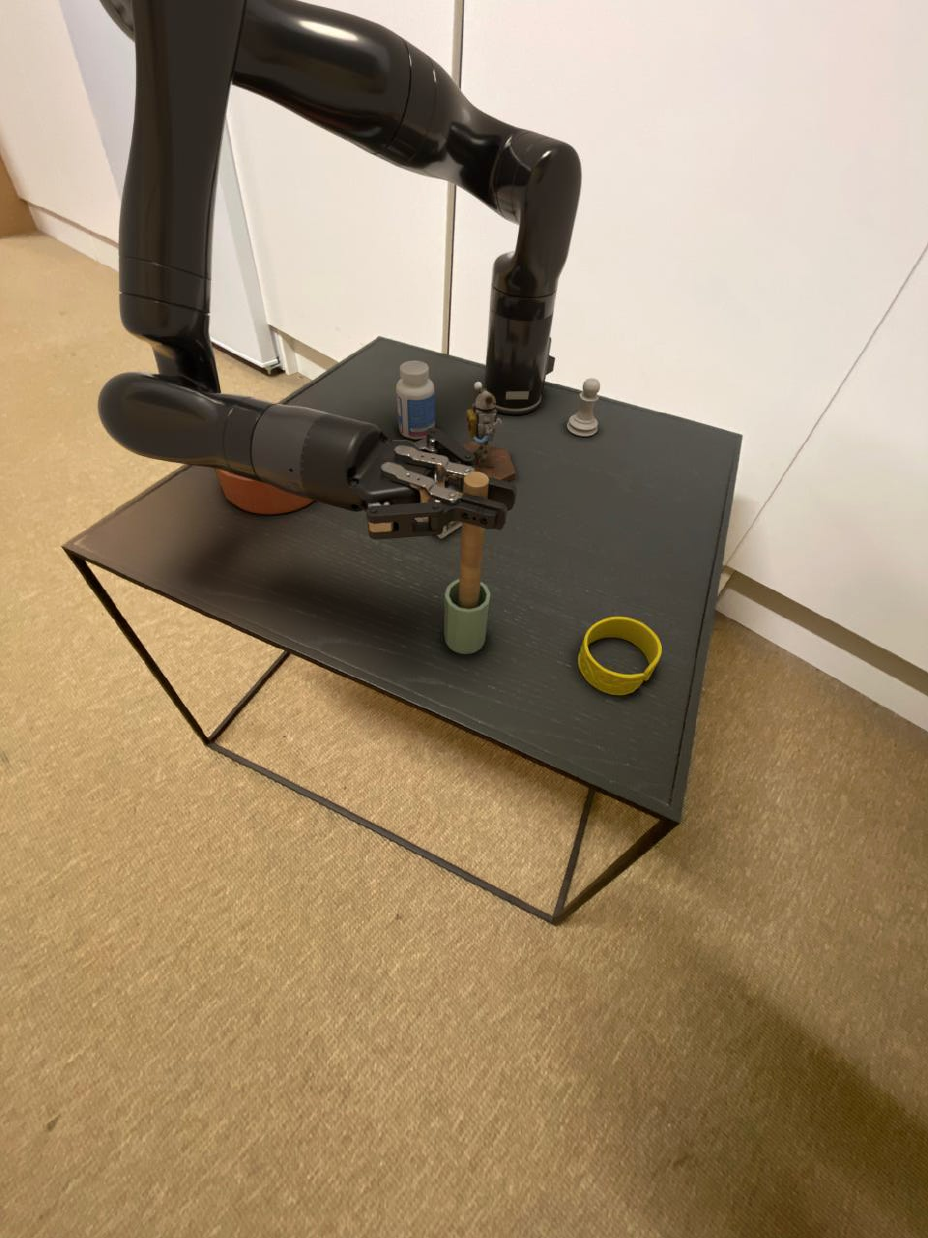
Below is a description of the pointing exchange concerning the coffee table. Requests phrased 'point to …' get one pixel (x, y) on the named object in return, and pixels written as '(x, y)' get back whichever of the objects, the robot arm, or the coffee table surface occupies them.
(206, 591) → the coffee table surface
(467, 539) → the stick
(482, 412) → the robot figurine
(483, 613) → the holder
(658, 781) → the coffee table surface
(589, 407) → the chess piece
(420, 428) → the pill bottle
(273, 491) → the bowl
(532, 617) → the coffee table surface
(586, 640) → the bracelet
